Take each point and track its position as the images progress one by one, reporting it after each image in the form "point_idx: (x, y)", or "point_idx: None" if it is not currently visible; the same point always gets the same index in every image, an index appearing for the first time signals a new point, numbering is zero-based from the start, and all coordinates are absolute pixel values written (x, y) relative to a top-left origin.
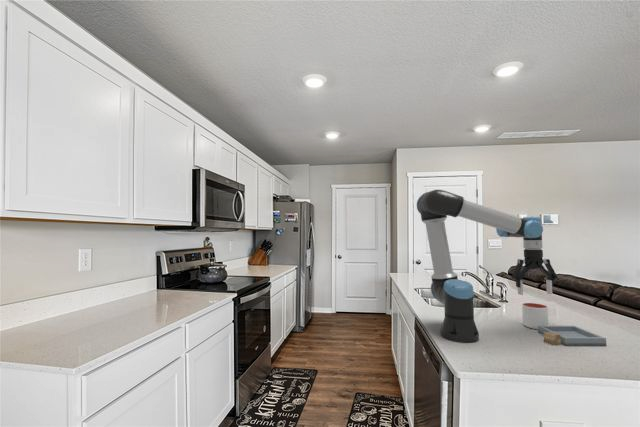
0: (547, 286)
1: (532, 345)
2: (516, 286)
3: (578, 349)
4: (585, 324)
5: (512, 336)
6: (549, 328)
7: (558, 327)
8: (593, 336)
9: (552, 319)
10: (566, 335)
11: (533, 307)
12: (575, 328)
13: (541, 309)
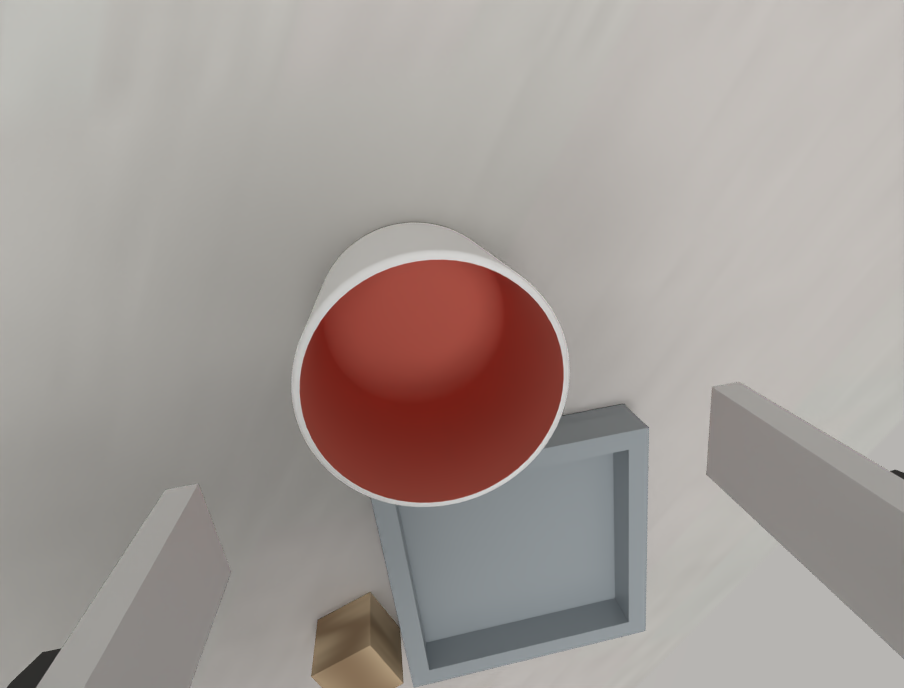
0: (817, 488)
1: (226, 681)
2: (33, 671)
3: None
4: (857, 177)
5: None
6: None
7: None
8: (622, 575)
9: (705, 28)
10: (502, 532)
11: (372, 493)
12: (624, 458)
13: (446, 497)
